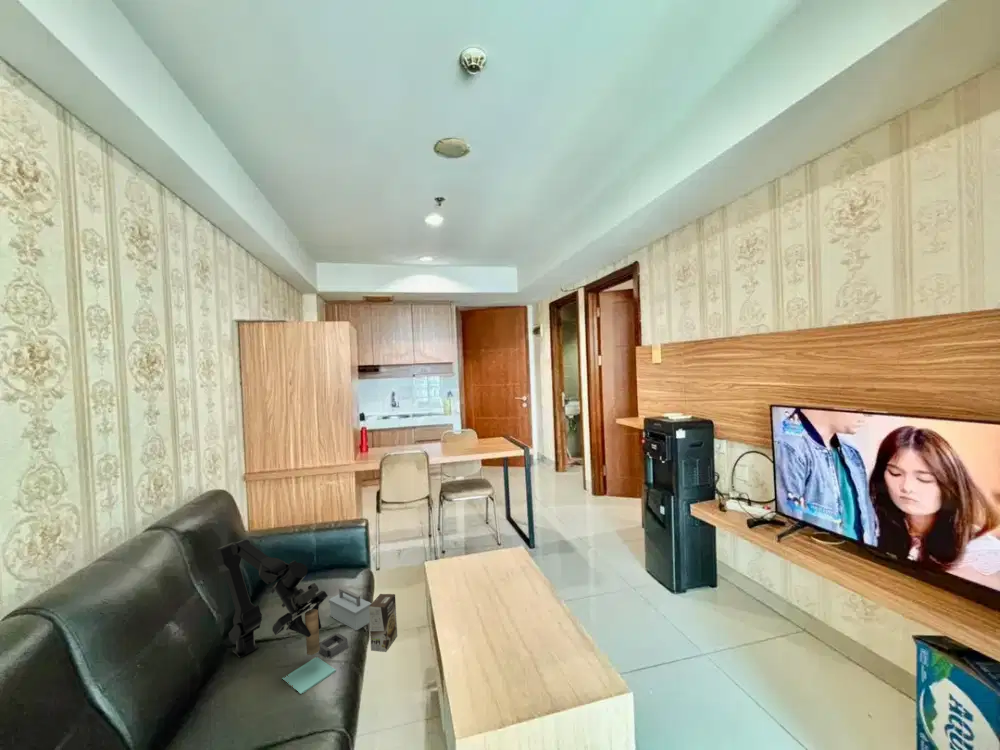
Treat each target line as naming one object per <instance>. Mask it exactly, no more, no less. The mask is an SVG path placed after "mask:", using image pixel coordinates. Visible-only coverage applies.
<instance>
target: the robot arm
mask: <svg viewBox="0 0 1000 750" xmlns="http://www.w3.org/2000/svg"><path fill="white" fill-rule="evenodd" d="M212 558H213V561H214V562H215V565H216V567H217V568H218V569H219V570H221V571H223V572H224V575H225V578H226V582H227V585H228V589H229V592H230V596H231V599H232V603H233V606H234V610H235V611H234V615H233V618H232V621H233V627H232V628H231V629H230V631H229V632H228V638H229V640H231V641H234V642H235V643H236V644H235V645H236V647H235V648H234V649H233V650H232V653H234V655H236V656H237V657H238V658H243V657H245V656H247V655H249V654H250V653H252V652H255V651H256V650H258V649H259V648H260V646H259V645H258V644H257V643H256V642H255V641H256V640H255V631H257V630H258V629H260V628H261V625H262V620H263V614H262V613H261V609H260V606H259V605H258V604H256V605H254V604H253V603H252V602H251V599H250V596H249V593H248V589H247V585H246V582H245V578H244V575H243V572H242V569H241V566H240V565H241V561H242V560H244V561H245V562H246V563H248V564H250V566H252V567H253V568H255V569H256V570H257V571H258V577H259V578H260V579H261V580H262V581H263V582H264V583H265V584H267V585H271V584H272V583H273V584H272V587H271V594H274V593H275V592H276V594H277V596H278V597H279V598H280V600H281V602H282V604H281V607H282V608H285V609H287V611H288V612H287V613H285V614H284V615H282V616H280V617H279V618H278V619H277V620H276V621H275V623H274V624H273V625H272V628H271V629H272V632H273V634H274V635H275V636H276V635H278V634H280V633H281V632H283V630H285V626H287V628H286V631H288V630H290V631H293V632H296V633H299V634H301V635H303V636H305V637H306V636H307V637H310V636H311V634H310V632H309V630H308V629H307V627H306V626H305V623H304V621H303V615H302V614H305V613H306V612H307V611H309V610H312V609H317V610H318V624H319V630H321V628H322V624H321V619H320V614H319V607H320V605H321V604H322V603H323V602H324V601H325V600H326V598H327V597H328V594H327V592H326V591H325V590H321V591H319V587H318V585H317V584H316V583H315V582H313V583H312V584H310V585H308V586H307V589H306V590H304V589H303V588H298V586H299V584H300V583H301V582H302V581H303V579H304V578H305V577H306V576H307V574H308V567H307V565H306V564H304V563H302V562H297V561H296V560H292V561H291V562H289V563H287V562H285V561H284V560H282V559H280V558H277V557H270V556H268V555H267V554H265V553H264V552H263V551H261V550H260V549H259V548H257V547H256V546H254V545H253V544H252V543H251V541H250V540H249V539H248V538H247V539H242V540H240V541H237V542H235V541H233V542H231V543H228V544H226V545H223V546H220V547H218V548H216V549H215V551H214V553H213V555H212ZM274 582H275V583H274Z"/></svg>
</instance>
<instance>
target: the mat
mask: <svg viewBox="0 0 1000 750" xmlns="http://www.w3.org/2000/svg"><path fill="white" fill-rule="evenodd" d="M336 672H337V669H336V668H334V667H333V666H331V665H330V664H328V663H326V662H325V661H324V660H322V659H321V658H320V657H318V656H316V657H314V658H311V660H309V661H308V662H306V663H304V664H303V665H300V667H298V668H296V669H295V670H293V671H292V672H290V673H289V674H287V675H288V676H289V677H288V676H287V675H285V676H286V677H285V676H283V677H282V678H281V680H282V679H283V680H285V681H286V682H287V683H288V682H289V683H288V684H289V685H291V686H292V685H293V688H294V689H296V690H297V691H298V692H299V693H300V694H302V693H303V694H305V693H306V692H308V691H310V690H311V689H312V688H314V687H315V686H317V685H318V684H319V683H321V682H323V681H324V680H326V679H327V678H328V677H330V676H331V675H333V674H334V673H336ZM284 677H285V678H284ZM283 680H282V681H283ZM287 683H286V684H287ZM288 684H287V685H288ZM289 685H288V686H289ZM293 688H292V689H293ZM310 688H311V689H310ZM294 689H293V690H294ZM307 690H308V691H307ZM298 692H297V693H298ZM304 692H305V693H304ZM299 693H298V694H299ZM300 694H299V695H300ZM303 694H302V695H303Z"/></svg>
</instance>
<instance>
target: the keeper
mask: <svg viewBox="0 0 1000 750" xmlns="http://www.w3.org/2000/svg"><path fill="white" fill-rule="evenodd" d="M319 643H320V650H319V651H318V653H319V654H320V655H322V656H324V657H325V658H326V659H328V658H330V659H332V658H335V656H337V655H338V654H340V653H342V652H343V651H345V650H346V649H347V648H349V641H348V638H347V637H346V636H344V635H342V634H341V633H339V632H338V633H333V634H332V635H330V636H329V637H326V638H325V639H323V640H321V641H319ZM335 643H337V644H336V645H335V646H333V647H331V648H329V647H330V646H332V645H333V644H335Z"/></svg>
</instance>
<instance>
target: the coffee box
mask: <svg viewBox="0 0 1000 750" xmlns="http://www.w3.org/2000/svg"><path fill="white" fill-rule="evenodd" d="M371 603H372V604H371V605H370V606H369V620H370V623H369V634H370V635H369V636H370V638H369V640H370V651H372V652H381V653H388V651H389V649H390V647H391V646H392V644H393V643H394V642H395V640H396V639H397V637H398V625H397V622H398V621H397V606H396V605H397V604H396V594H394V593H380V594H379V595H377V597H376V598H375V599H374V600H373V601H372V602H371Z"/></svg>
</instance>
